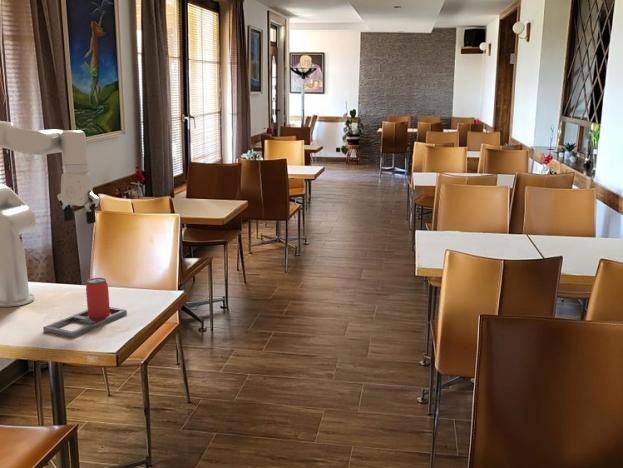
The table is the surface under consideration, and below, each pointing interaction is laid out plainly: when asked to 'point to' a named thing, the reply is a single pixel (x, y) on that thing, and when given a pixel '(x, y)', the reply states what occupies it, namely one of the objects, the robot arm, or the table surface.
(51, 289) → the table surface
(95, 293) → the beer can
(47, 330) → the gray rectangular frame
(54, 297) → the table surface
